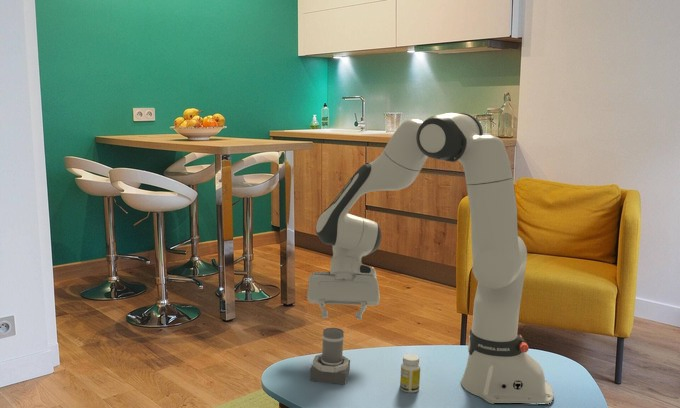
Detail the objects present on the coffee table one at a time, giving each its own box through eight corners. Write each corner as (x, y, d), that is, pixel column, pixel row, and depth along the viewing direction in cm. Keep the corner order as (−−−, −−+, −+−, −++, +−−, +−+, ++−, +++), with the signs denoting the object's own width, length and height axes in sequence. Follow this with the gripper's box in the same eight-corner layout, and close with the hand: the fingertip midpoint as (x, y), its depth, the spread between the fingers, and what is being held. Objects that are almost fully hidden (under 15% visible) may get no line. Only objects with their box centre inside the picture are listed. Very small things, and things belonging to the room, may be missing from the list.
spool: (343, 361, 164) (345, 328, 162) (340, 370, 159) (342, 336, 157) (323, 359, 165) (324, 326, 163) (319, 367, 160) (321, 334, 158)
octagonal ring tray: (349, 370, 166) (350, 355, 165) (344, 385, 157) (345, 369, 157) (316, 366, 167) (316, 351, 167) (309, 381, 159) (310, 365, 158)
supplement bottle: (418, 385, 159) (420, 353, 158) (419, 393, 154) (421, 361, 153) (399, 383, 159) (401, 352, 158) (399, 392, 155) (401, 360, 153)
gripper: (307, 266, 178) (302, 312, 171) (380, 268, 175) (377, 315, 168) (311, 276, 183) (305, 320, 176) (381, 278, 181) (378, 323, 173)
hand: (341, 318), depth 172 cm, fingers open, 8 cm apart
